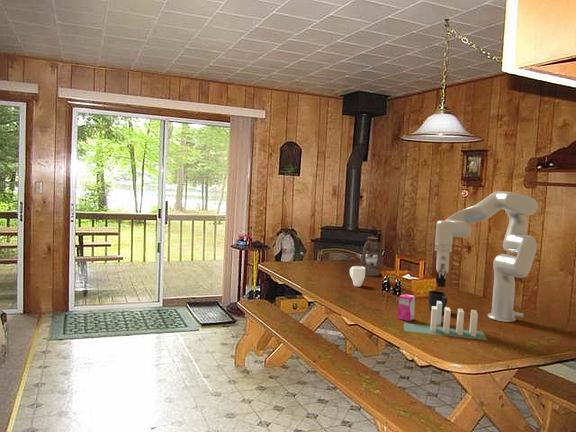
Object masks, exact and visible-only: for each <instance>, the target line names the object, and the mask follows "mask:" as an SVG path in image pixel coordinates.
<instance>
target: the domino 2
mask: <svg viewBox="0 0 576 432" xmlns="http://www.w3.org/2000/svg"><path fill="white" fill-rule="evenodd" d="M436 306H437V323H436V326H441V325H442V313H443V311H442V302H441V301H437V305H436Z"/></svg>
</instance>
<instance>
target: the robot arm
mask: <svg viewBox="0 0 576 432" xmlns="http://www.w3.org/2000/svg"><path fill="white" fill-rule="evenodd" d="M538 208H539V204H538V202H537V200H536V199H535V198H533V197H531V196H527V195H523V194H520V193H517V192H512V191H503V190H498V191H493V192H492V193H490V194H489V195H488V196H486V197H484V199H481V201H479V202H478V203H476V204H474V205H472V206H469V207H466V208H464V209H461V210H459V211H456V212H455V213H453V214H452V215H450V216H448V217H447V218H446V219H445V220H442V219H441V220H438V221H436V224H435V225H436V227H435V235H434V237H435V239H434V251H435V252H436V261H435V262H436V263H435V266H436V276H435V277H436V278H435V282H436V283H437V287H438V288H446V282H447V281H446V274H449V273H450V272H449V271H450V269H449V268H450V253H451V252H453V251H452V250H453V241H454V239H453V238H454V237H455V238H456V237H457V238H466V237H468V236H470V234H471V233H472V226H471V224H473V223H480V222H484V221H486V220H488V219H490V218H491V217H493V216H494V215H495V214H496V213H498V212H500V211H501V210H503V211H505V213H506V214H507V218H508V224H507V229H506V232H505V235H504V238H503V243H502V248H503V250H504V251H506V252H508V253H512V254H516V255H511V254H506V253H500V254H498V255H497V256H495V257H494V258H493V259H494V260H493V263H492V268H493V288H492V289H493V290H492V299H491V312H489V313H488V314H487V317H488V318H489V319H491V320H494V321H498V322H504V323H513V322H516V320H517V317H518V318H524V313H523V312H522V313H521V312H518V311H517V312H516V311H515V310H514V303H515V302H514V301H515V292H516V291H515V290H516V281H515V278H519V279H523V278H526V277H527V276H528V275H529V273H531V269H532V266H533V264H534V259H535V256H536V253H537V249H538V244H537V241H536V239H535V238H534V237H532V236H531V235H528V234H527V232H528V231H527V230H528V226H529V224H528V223H529V222H528V219H527V216H532V215H534V214H535V213H536V212H537V211H538Z"/></svg>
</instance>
